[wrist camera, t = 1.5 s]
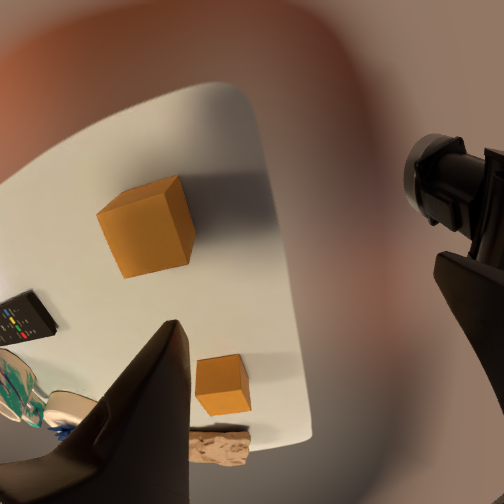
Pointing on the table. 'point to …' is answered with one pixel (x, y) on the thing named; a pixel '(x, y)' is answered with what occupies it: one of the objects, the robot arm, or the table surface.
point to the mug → (18, 391)
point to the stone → (219, 447)
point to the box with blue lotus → (66, 412)
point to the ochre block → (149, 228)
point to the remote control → (24, 320)
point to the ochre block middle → (222, 385)
